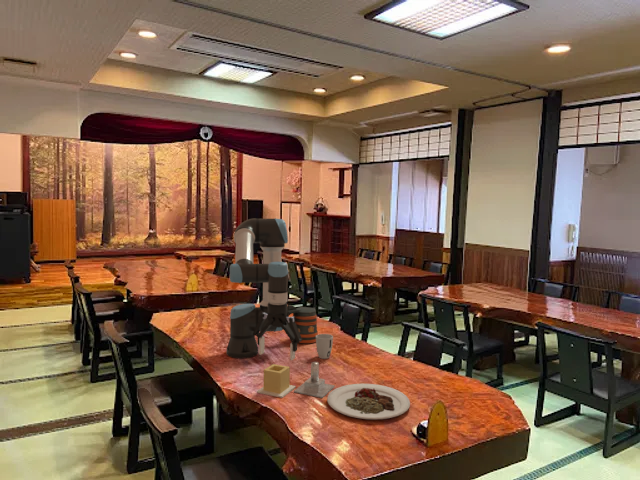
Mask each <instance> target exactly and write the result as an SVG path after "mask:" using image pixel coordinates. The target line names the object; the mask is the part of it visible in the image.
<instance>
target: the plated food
mask: <svg viewBox="0 0 640 480" xmlns="http://www.w3.org/2000/svg"><path fill="white" fill-rule="evenodd" d="M326 402H327V404H328V406H329V407H331V408H332V409H333V410H334V411H335V412H338V413H340V414H342V415H344V416H347V417H352V418H357V419H361V420H362V419H363V420H386V419H390V418H391V419H392V418H395V417H398V416H401V415H402V414H405V413H406V412H407V411H408V410H409V408H410V407H411V401H410V398H409V397H408V395H406V394H404V393H403V392H402V391H400V390H398V389H395V388H393V387H389V386H386V385H383V384H382V385H381V384H374V383H353V384H346V385H342V386H339V387H337V388H335V389H334V388H333V389H332V390H331V391H330V392H328V394H327V401H326Z"/></svg>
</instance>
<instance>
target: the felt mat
mask: <svg viewBox="0 0 640 480" xmlns="http://www.w3.org/2000/svg"><path fill="white" fill-rule="evenodd" d="M263 387H264V386H262V387H261V388H259V389H258V390H256V392H257V393H258V394H261V395H266V396H271V397H277V398H281V399H282V398H284V397H285V396H286V395H288V394H290V392H292V391H294V390H295V389H297V387H296V385H292V384H290V385H289V388H287V389H286V390H285V391H283V392H282V393H281V394H279V393H274V392H270V391H265V390H263Z"/></svg>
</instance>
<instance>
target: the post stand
mask: <svg viewBox="0 0 640 480" xmlns="http://www.w3.org/2000/svg"><path fill="white" fill-rule="evenodd" d="M319 368H320V363H319V362H318V361H312V362H311V363H310V377H309V378H308V379H306V380H305V381H304V382H303V383H302V384H301V385H299V386H297V387H296V388H295V389H293V393H295V394H300V395H306V396H309V397H315V398H319V399H323V398H324V397H326V395H328V394H329V393H330V392H332V391H333V390H334V388H335V385H334V384H329V383H326V379H324V378H319V377H320V374H319V373H320V371H319V370H320V369H319Z"/></svg>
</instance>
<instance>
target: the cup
mask: <svg viewBox="0 0 640 480" xmlns="http://www.w3.org/2000/svg"><path fill="white" fill-rule="evenodd" d="M333 340H334V336H333V335H332V334H330V333H329V334H328V333H320V334H319V333H318V335H316V342H315V345H316V353H317V355H318V358H320V359H323V360H326V359H329V358H330V357H331V354H332V349H333V345H334V344H333V342H334V341H333Z"/></svg>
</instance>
